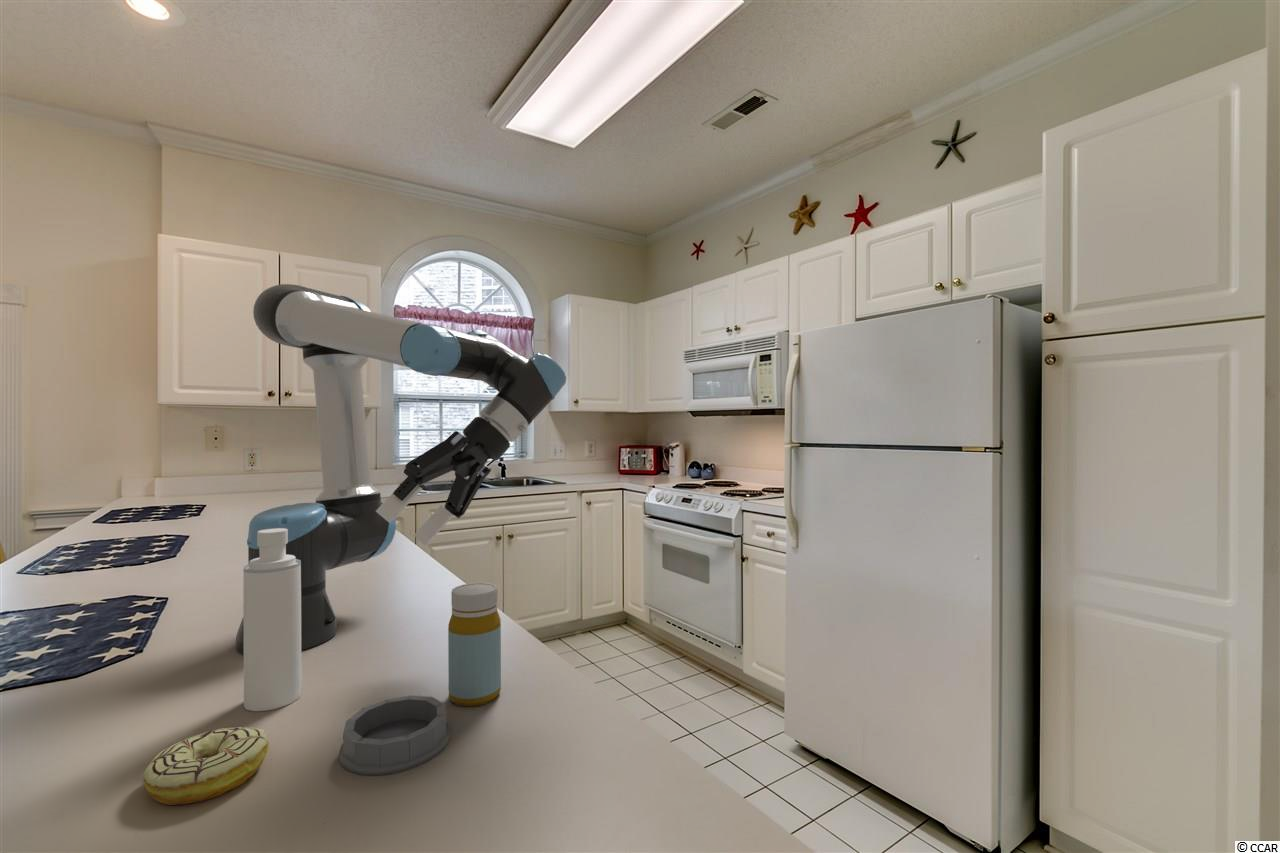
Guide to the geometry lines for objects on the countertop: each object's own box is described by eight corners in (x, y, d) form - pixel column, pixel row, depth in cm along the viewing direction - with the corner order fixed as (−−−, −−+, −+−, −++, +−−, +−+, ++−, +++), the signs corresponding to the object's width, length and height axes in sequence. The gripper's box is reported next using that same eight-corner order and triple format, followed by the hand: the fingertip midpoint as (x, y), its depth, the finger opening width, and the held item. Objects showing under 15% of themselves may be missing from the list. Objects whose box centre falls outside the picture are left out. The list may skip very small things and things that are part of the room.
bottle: (486, 710, 75) (486, 597, 75) (438, 705, 76) (438, 594, 76) (509, 686, 82) (508, 583, 82) (464, 682, 83) (464, 580, 83)
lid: (321, 748, 66) (321, 722, 66) (417, 708, 76) (416, 685, 76) (370, 789, 59) (370, 759, 59) (470, 739, 68) (470, 713, 68)
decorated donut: (222, 745, 68) (222, 713, 68) (290, 761, 64) (290, 728, 64) (118, 799, 58) (118, 762, 58) (191, 822, 54) (191, 782, 54)
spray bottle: (239, 716, 74) (239, 524, 74) (247, 694, 80) (247, 517, 80) (299, 704, 77) (299, 520, 77) (303, 684, 83) (302, 513, 83)
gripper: (489, 406, 83) (382, 520, 76) (528, 468, 105) (447, 561, 99) (453, 381, 85) (346, 489, 78) (498, 447, 108) (418, 536, 101)
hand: (402, 529), depth 89 cm, fingers open, 13 cm apart
